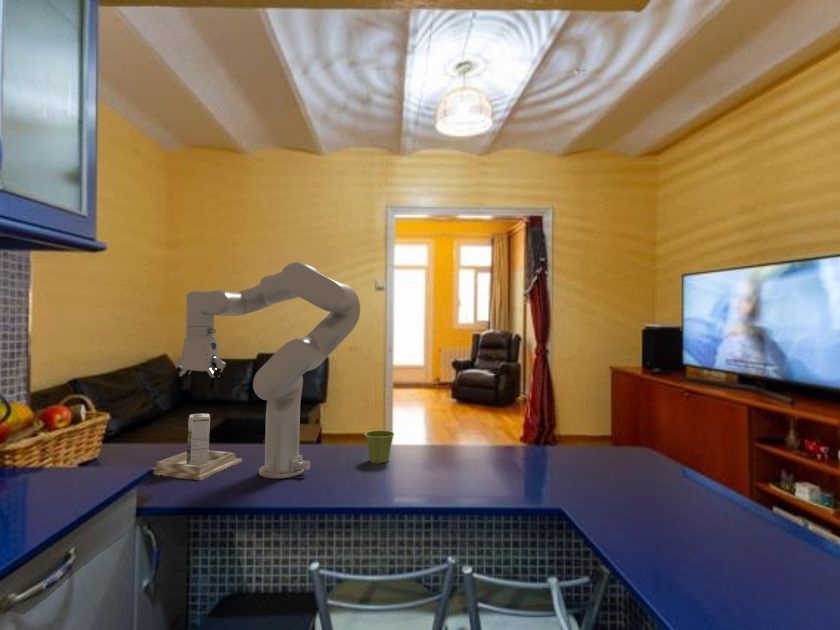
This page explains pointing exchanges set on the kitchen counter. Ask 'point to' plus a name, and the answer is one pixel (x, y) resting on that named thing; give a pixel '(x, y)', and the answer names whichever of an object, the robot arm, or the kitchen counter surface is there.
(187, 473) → the tray
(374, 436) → the plant pot
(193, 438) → the syrup box
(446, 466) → the kitchen counter surface
